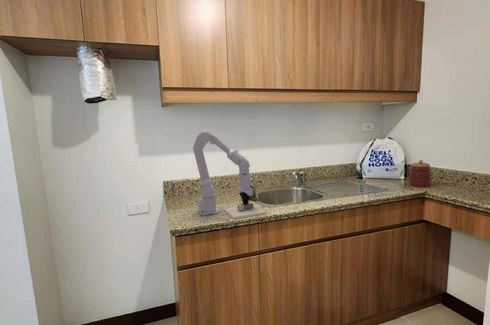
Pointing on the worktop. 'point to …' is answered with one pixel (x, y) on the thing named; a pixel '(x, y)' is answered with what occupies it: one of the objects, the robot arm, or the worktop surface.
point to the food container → (253, 191)
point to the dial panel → (244, 212)
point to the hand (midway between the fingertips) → (245, 205)
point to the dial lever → (244, 206)
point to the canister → (420, 174)
